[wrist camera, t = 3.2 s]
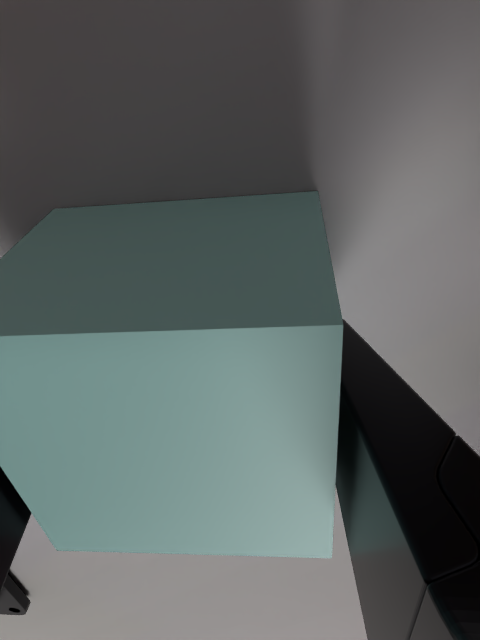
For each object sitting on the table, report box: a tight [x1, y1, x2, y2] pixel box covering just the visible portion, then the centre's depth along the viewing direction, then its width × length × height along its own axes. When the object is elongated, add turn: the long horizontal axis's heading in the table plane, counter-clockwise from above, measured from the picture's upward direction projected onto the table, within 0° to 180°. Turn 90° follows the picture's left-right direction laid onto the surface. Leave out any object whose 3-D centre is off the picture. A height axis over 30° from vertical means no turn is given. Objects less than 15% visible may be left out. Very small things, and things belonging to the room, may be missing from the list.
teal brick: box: [0, 191, 343, 558], centre depth 8 cm, size 5×5×4 cm
